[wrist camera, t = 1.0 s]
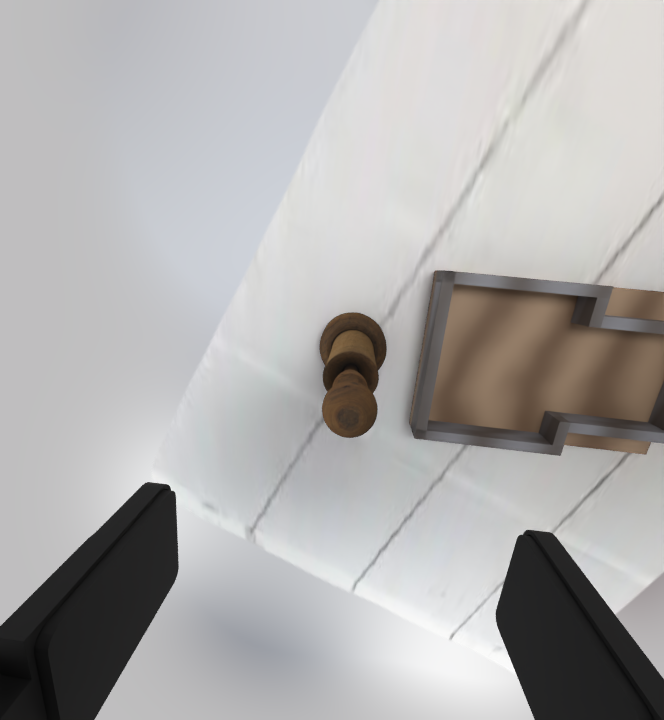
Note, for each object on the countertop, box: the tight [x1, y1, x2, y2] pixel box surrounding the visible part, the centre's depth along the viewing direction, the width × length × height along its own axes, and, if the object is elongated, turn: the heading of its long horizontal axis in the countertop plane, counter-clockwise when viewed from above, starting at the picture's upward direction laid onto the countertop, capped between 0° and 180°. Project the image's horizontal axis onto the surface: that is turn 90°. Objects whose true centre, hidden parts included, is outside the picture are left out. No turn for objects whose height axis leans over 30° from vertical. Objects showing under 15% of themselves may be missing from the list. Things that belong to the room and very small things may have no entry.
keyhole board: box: [409, 271, 664, 456], centre depth 31 cm, size 24×16×4 cm, turn 85°
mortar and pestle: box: [320, 313, 386, 438], centre depth 25 cm, size 7×6×18 cm
